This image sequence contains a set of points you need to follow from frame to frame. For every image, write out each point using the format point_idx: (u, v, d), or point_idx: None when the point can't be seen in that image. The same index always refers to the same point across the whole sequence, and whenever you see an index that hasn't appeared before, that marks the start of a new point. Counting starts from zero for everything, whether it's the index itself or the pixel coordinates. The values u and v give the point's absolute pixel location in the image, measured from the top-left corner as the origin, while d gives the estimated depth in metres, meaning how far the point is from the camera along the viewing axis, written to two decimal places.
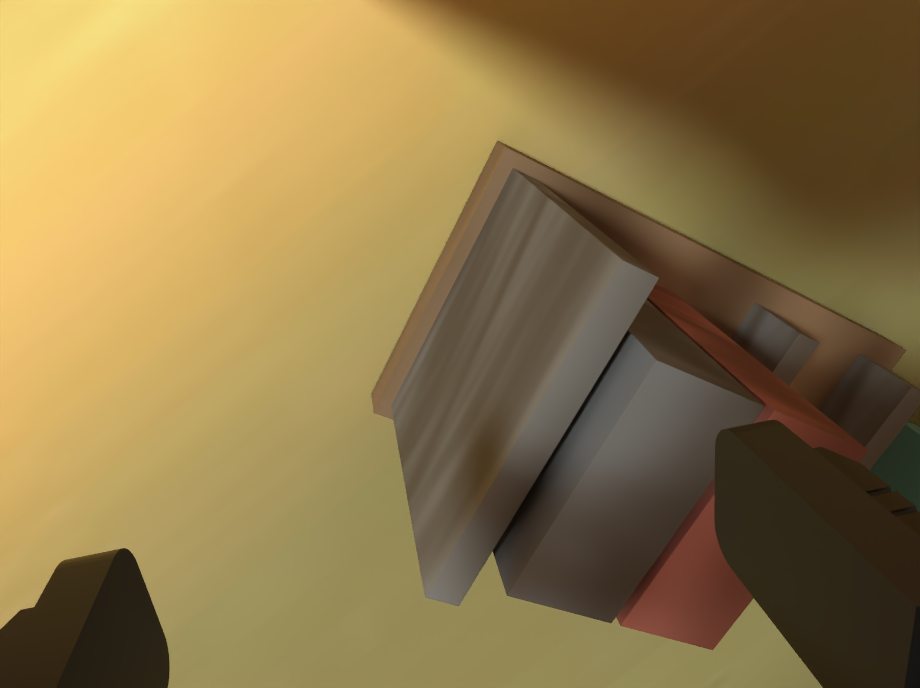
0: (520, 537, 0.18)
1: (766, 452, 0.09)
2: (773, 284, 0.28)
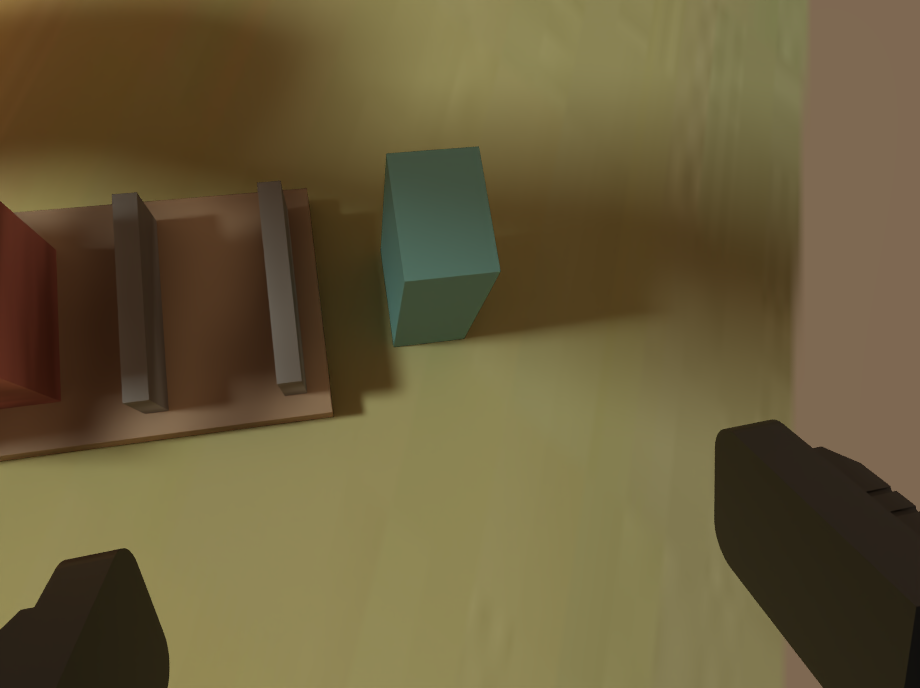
0: None
1: (766, 452, 0.09)
2: None
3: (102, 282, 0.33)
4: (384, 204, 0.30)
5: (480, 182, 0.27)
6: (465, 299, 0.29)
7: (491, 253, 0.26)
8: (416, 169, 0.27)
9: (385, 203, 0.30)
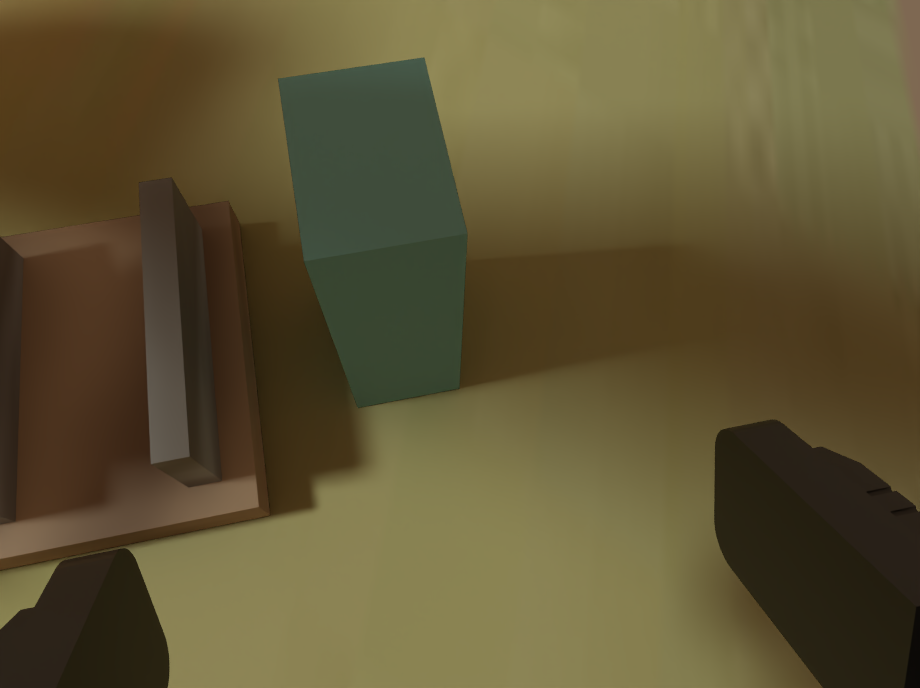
0: None
1: (766, 452, 0.09)
2: (2, 238, 0.25)
3: None
4: None
5: (428, 106, 0.17)
6: (431, 304, 0.18)
7: (450, 207, 0.16)
8: (325, 96, 0.17)
9: None
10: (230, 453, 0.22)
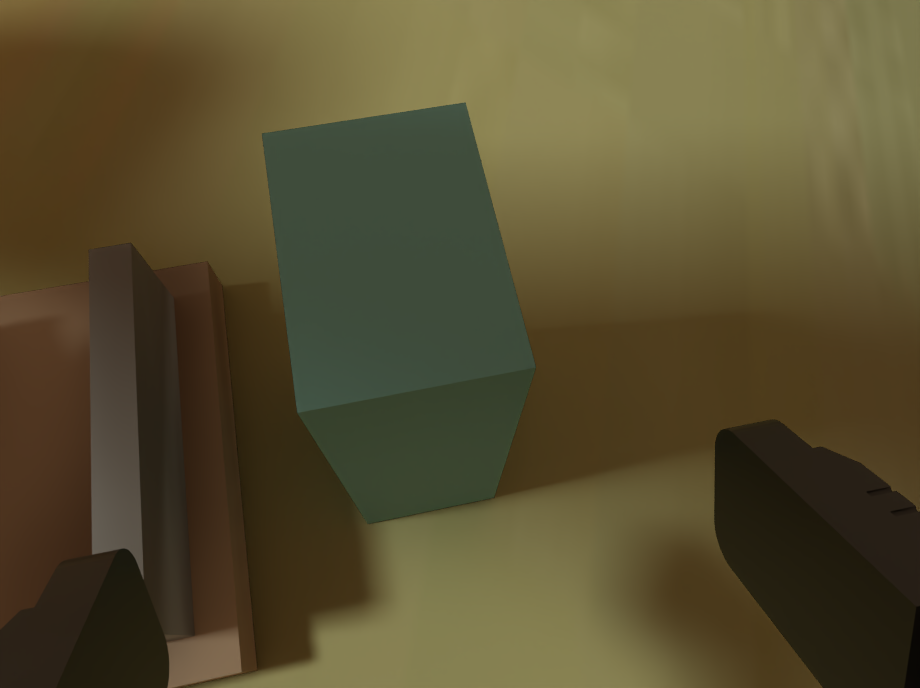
0: None
1: (766, 452, 0.09)
2: None
3: None
4: None
5: (473, 173, 0.12)
6: (471, 436, 0.13)
7: (510, 326, 0.11)
8: (328, 159, 0.12)
9: None
10: (205, 597, 0.17)
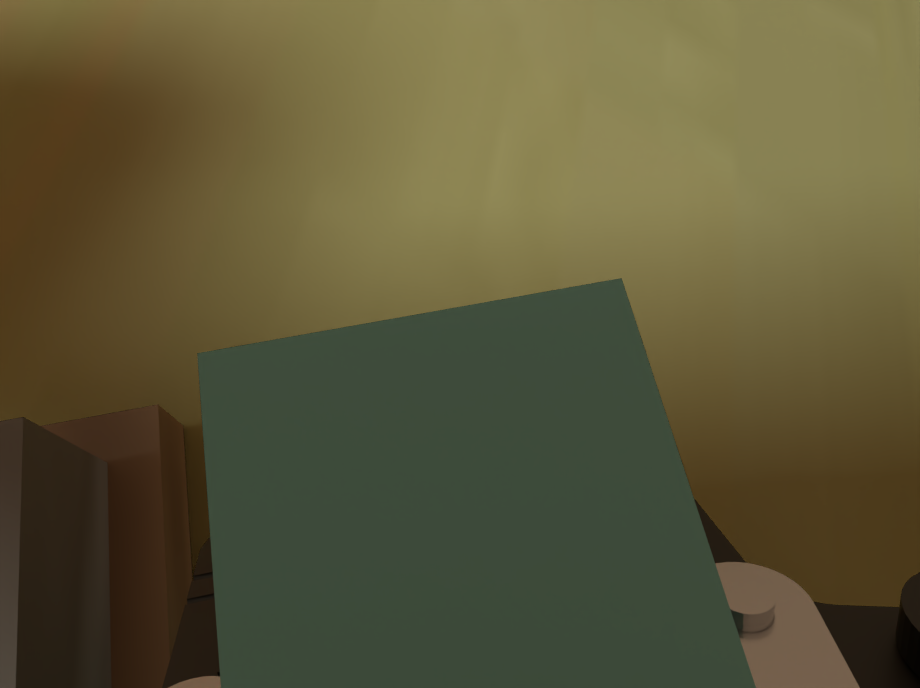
0: None
1: None
2: None
3: None
4: None
5: (654, 450, 0.05)
6: None
7: None
8: (338, 416, 0.06)
9: None
10: None
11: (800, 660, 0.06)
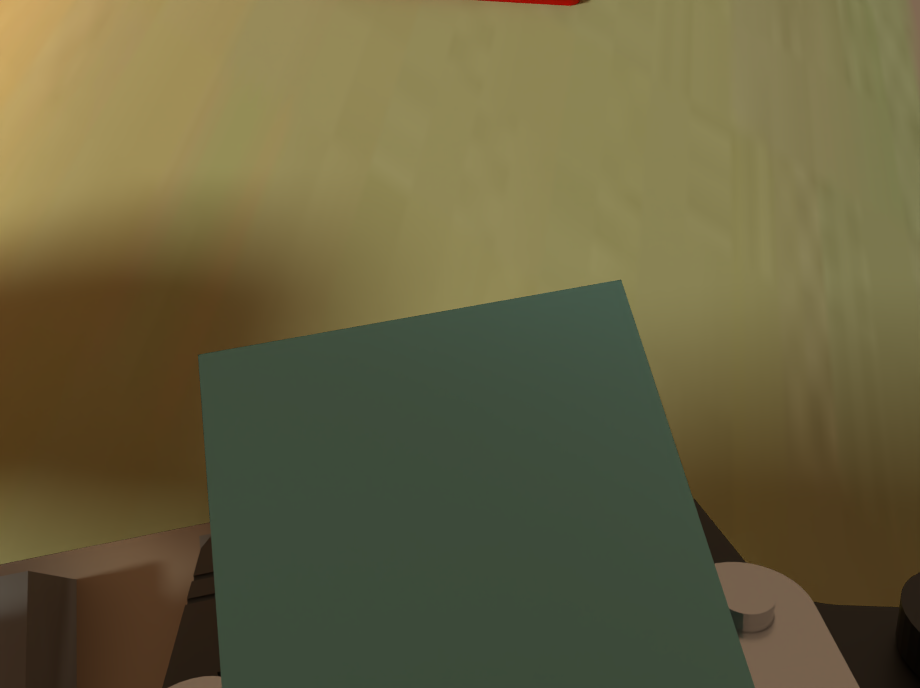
0: None
1: None
2: (54, 555, 0.24)
3: None
4: None
5: (654, 451, 0.05)
6: None
7: None
8: (339, 418, 0.06)
9: None
10: None
11: (800, 660, 0.06)
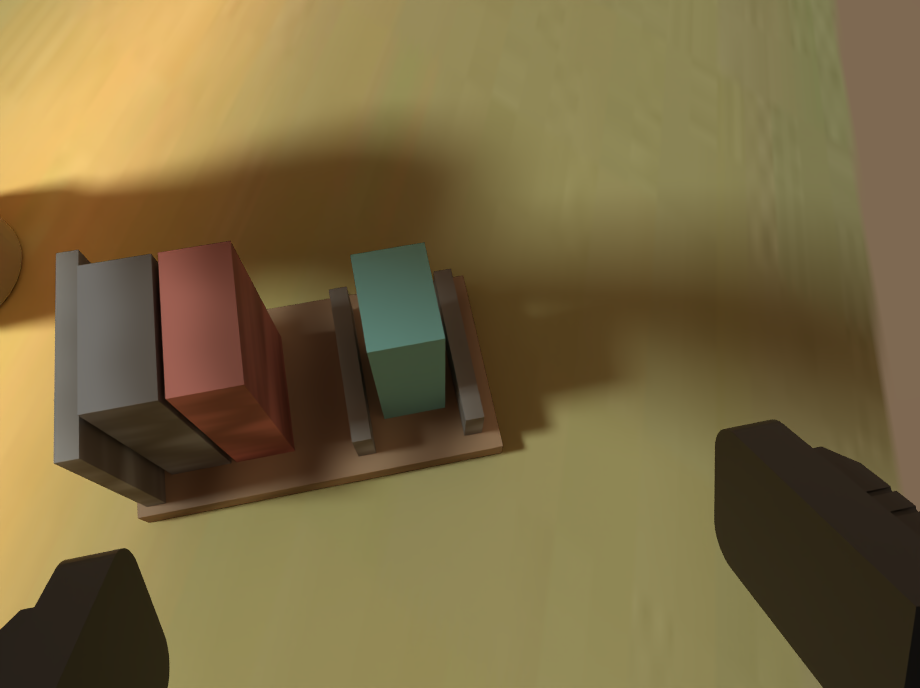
0: None
1: (766, 452, 0.09)
2: None
3: (317, 358, 0.42)
4: None
5: (426, 270, 0.33)
6: (427, 367, 0.35)
7: (437, 324, 0.32)
8: (374, 264, 0.33)
9: None
10: (484, 418, 0.41)
11: None
